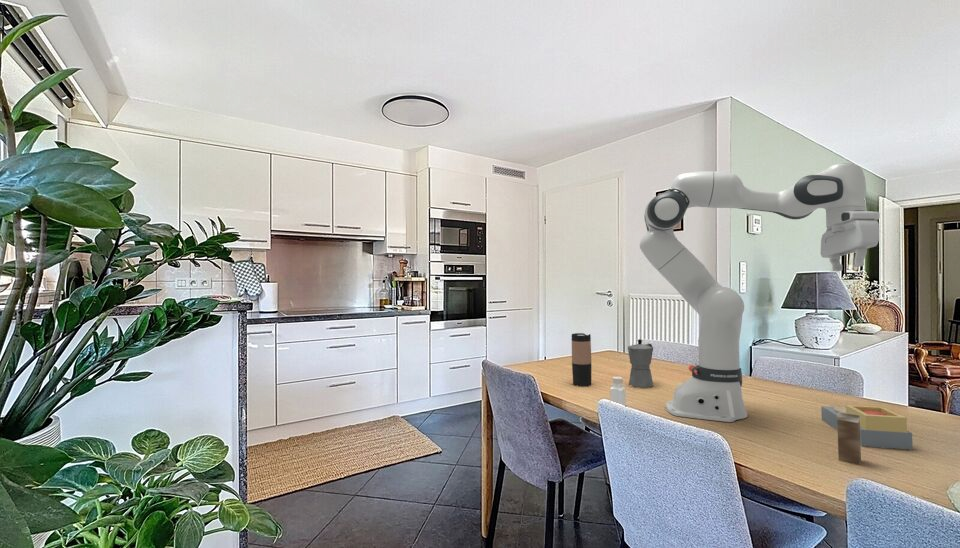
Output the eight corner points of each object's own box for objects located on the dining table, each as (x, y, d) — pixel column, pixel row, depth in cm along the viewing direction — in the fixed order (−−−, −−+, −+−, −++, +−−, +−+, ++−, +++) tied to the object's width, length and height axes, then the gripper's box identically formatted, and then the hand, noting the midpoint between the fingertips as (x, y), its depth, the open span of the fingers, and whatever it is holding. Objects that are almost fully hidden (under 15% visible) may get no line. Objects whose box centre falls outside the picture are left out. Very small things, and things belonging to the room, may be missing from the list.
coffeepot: (642, 390, 159) (641, 342, 159) (620, 385, 166) (619, 339, 167) (664, 383, 168) (662, 338, 169) (642, 379, 176) (641, 336, 176)
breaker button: (870, 435, 105) (869, 415, 105) (861, 429, 109) (860, 410, 109) (890, 436, 104) (889, 416, 104) (880, 431, 108) (879, 411, 108)
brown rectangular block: (838, 460, 96) (836, 415, 96) (840, 455, 98) (839, 412, 99) (859, 465, 93) (858, 419, 94) (861, 460, 96) (859, 415, 96)
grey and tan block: (861, 446, 104) (860, 415, 104) (821, 420, 123) (820, 393, 123) (912, 449, 101) (911, 418, 101) (863, 422, 120) (862, 395, 120)
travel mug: (572, 386, 167) (571, 335, 167) (571, 381, 174) (570, 333, 175) (592, 386, 166) (591, 335, 166) (591, 382, 173) (589, 333, 174)
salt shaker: (614, 404, 142) (613, 375, 143) (626, 406, 140) (625, 377, 140) (609, 407, 139) (609, 377, 139) (621, 409, 137) (621, 379, 137)
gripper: (813, 228, 131) (814, 273, 129) (855, 210, 111) (857, 262, 110) (837, 229, 130) (838, 274, 128) (884, 210, 110) (886, 263, 108)
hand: (847, 268), depth 119 cm, fingers open, 8 cm apart
